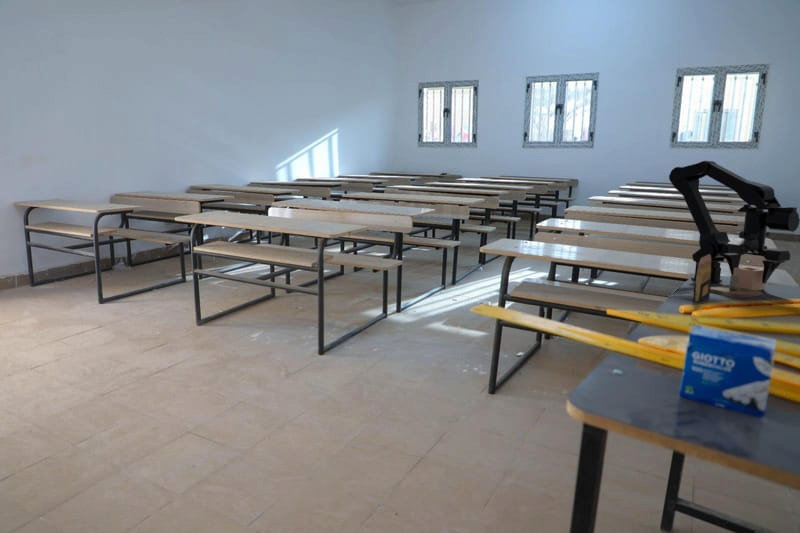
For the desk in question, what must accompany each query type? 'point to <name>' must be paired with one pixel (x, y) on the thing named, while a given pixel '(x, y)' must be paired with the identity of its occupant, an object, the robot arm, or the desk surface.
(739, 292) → the pin board
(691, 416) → the desk surface
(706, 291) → the ammunition clip
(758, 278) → the collar
